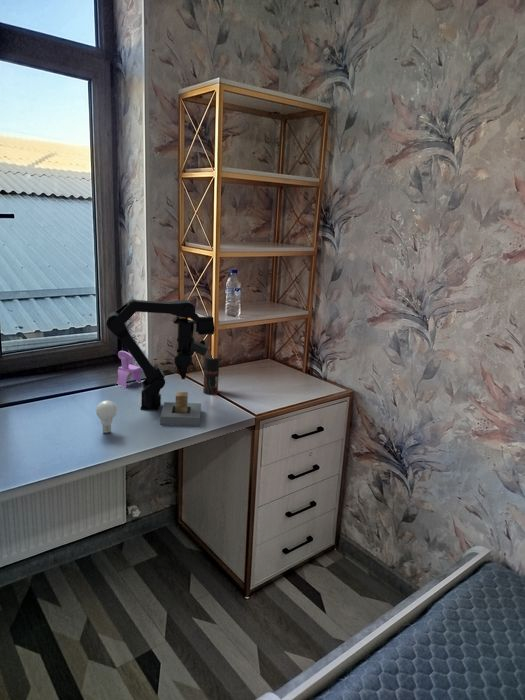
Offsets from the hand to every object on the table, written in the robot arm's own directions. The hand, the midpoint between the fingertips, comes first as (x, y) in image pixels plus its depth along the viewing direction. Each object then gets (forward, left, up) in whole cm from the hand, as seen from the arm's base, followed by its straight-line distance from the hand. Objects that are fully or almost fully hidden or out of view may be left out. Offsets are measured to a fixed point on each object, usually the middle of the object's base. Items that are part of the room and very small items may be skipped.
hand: (184, 375), depth 185 cm
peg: (0, -12, -12) cm, 17 cm away
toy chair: (-24, +21, -12) cm, 34 cm away
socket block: (0, -12, -12) cm, 17 cm away
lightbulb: (-23, -26, -12) cm, 37 cm away
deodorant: (+10, +15, -12) cm, 22 cm away
